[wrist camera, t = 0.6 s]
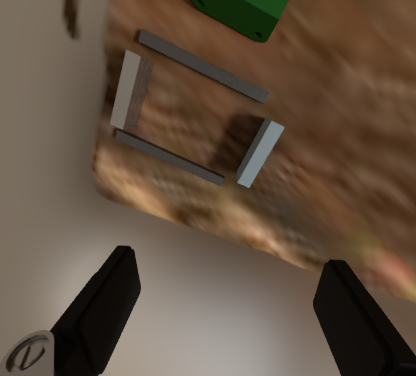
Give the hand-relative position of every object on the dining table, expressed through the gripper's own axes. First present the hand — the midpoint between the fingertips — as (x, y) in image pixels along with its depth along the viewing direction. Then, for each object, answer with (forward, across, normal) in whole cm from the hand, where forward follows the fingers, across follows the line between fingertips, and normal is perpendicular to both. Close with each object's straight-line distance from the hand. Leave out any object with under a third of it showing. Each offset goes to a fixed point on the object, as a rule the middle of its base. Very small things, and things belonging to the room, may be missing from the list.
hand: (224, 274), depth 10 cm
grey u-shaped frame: (+27, +8, -6) cm, 29 cm away
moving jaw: (+26, -5, 0) cm, 27 cm away
